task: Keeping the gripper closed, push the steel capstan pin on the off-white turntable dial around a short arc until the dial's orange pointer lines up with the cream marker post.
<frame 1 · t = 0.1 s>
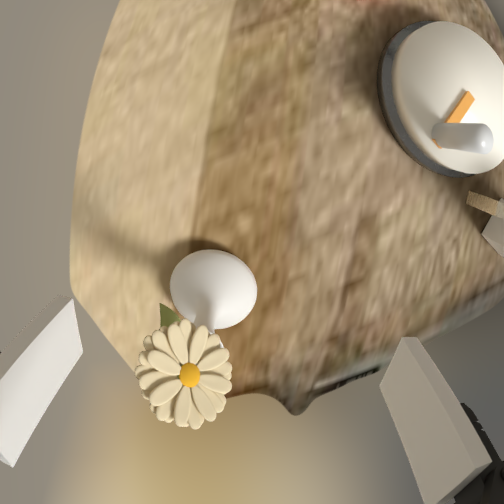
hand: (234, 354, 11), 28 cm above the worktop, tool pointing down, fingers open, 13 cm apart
dial: (480, 94, 24), point 8 cm above the worktop, hinge at -60.0°
milk carton: (499, 226, 38), on the worktop
dial base: (447, 97, 31), on the worktop
flower in vase: (213, 279, 41), on the worktop
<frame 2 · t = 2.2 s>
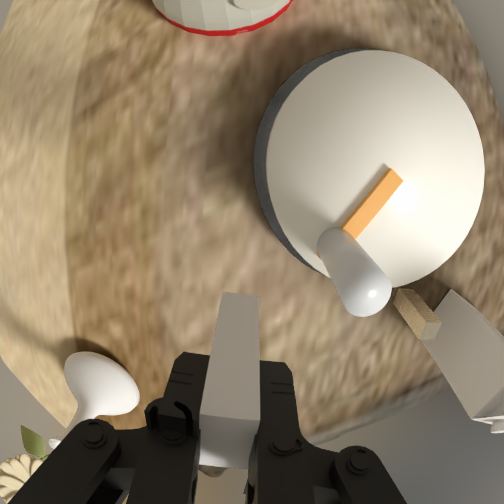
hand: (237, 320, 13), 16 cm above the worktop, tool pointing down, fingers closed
dial: (409, 178, 19), point 8 cm above the worktop, hinge at -60.0°
milk carton: (446, 319, 33), on the worktop
dial base: (371, 166, 27), on the worktop
flower in vase: (102, 371, 37), on the worktop
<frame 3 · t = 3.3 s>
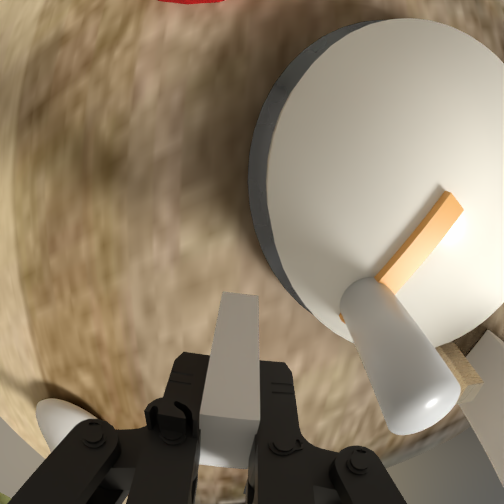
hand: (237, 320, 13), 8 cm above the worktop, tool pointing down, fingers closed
dial: (478, 210, 12), point 8 cm above the worktop, hinge at -60.0°
milk carton: (478, 362, 25), on the worktop
dial base: (410, 183, 19), on the worktop
flower in vase: (78, 417, 29), on the worktop
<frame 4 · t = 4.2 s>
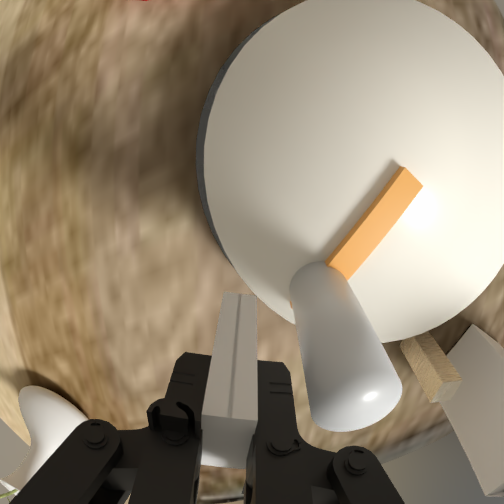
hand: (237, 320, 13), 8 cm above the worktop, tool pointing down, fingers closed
dial: (434, 183, 11), point 8 cm above the worktop, hinge at -58.6°, touching gripper
milk carton: (464, 358, 25), on the worktop
dial base: (373, 164, 18), on the worktop
flower in vase: (59, 405, 29), on the worktop
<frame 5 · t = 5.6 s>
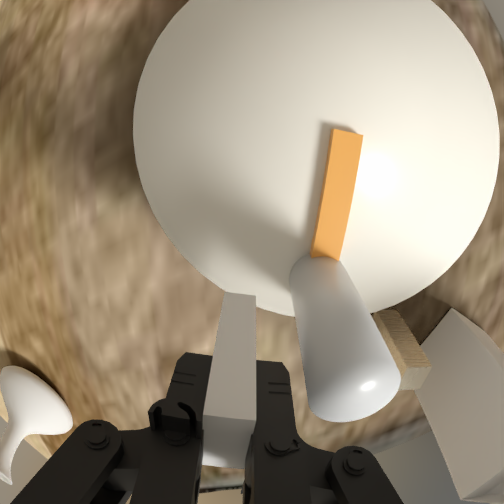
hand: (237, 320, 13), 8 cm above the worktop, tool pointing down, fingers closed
dial: (362, 132, 11), point 8 cm above the worktop, hinge at -30.3°, touching gripper
milk carton: (445, 346, 24), on the worktop
dial base: (323, 131, 18), on the worktop
flower in vase: (37, 386, 29), on the worktop
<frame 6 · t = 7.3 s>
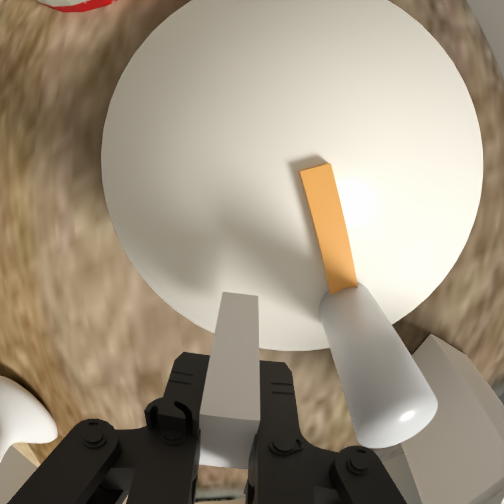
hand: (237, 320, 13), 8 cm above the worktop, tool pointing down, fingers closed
dial: (325, 171, 11), point 8 cm above the worktop, hinge at -4.6°
milk carton: (424, 370, 24), on the worktop
flower in vase: (23, 396, 28), on the worktop
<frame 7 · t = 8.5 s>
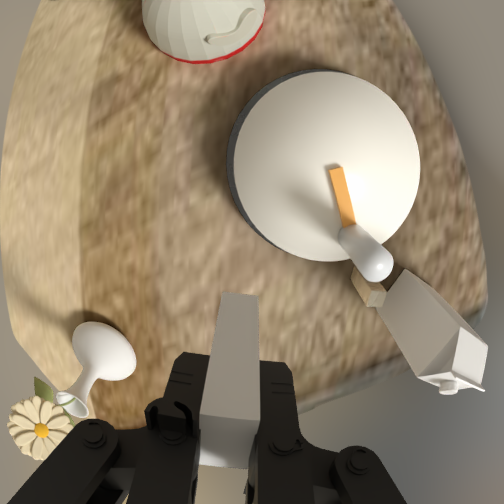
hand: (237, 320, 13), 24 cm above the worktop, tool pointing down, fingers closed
kitchen timer: (205, 14, 28), on the worktop
dial: (341, 170, 27), point 8 cm above the worktop, hinge at -4.6°
milk carton: (404, 297, 41), on the worktop
dial base: (323, 163, 34), on the worktop
flower in vase: (105, 340, 44), on the worktop
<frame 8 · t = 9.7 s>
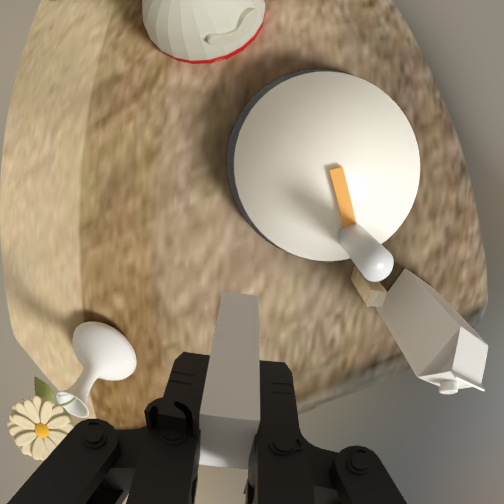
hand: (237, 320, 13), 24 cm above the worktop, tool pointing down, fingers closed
kitchen timer: (205, 14, 28), on the worktop
dial: (341, 170, 27), point 8 cm above the worktop, hinge at -4.6°
milk carton: (404, 297, 41), on the worktop
dial base: (323, 163, 34), on the worktop
flower in vase: (105, 340, 44), on the worktop
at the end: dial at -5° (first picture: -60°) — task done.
